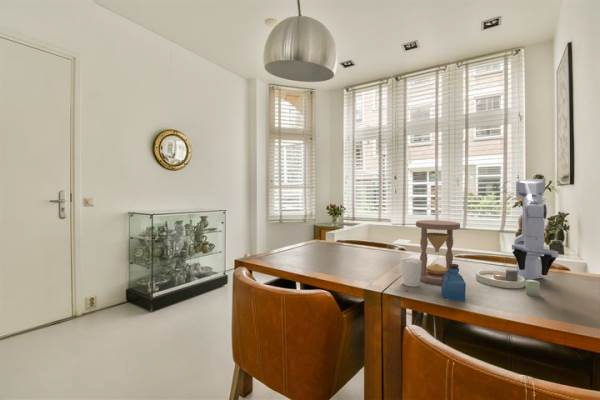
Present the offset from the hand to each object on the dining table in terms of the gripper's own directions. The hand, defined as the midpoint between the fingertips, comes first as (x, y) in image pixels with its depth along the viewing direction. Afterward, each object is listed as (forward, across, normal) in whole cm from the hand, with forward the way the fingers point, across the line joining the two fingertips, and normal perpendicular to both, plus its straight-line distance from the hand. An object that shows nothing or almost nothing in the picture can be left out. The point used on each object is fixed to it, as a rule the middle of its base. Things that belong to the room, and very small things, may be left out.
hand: (532, 272), depth 109 cm
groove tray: (+8, -15, +4) cm, 18 cm away
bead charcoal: (+7, -10, +4) cm, 13 cm away
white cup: (+9, -26, -34) cm, 44 cm away
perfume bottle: (+9, -9, -30) cm, 32 cm away
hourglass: (+9, -28, -18) cm, 34 cm away
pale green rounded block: (+8, 0, 0) cm, 8 cm away
